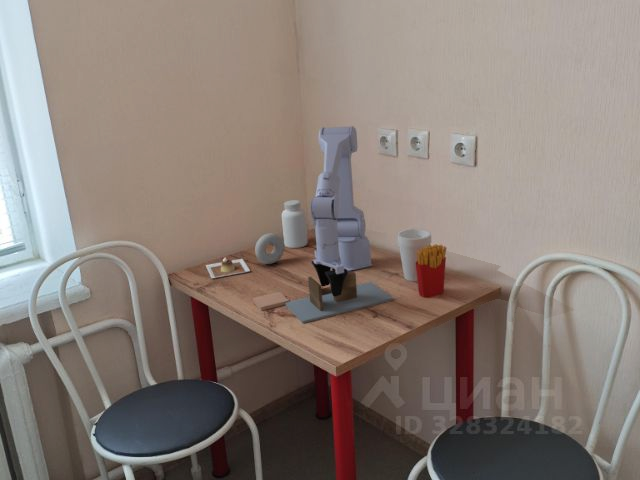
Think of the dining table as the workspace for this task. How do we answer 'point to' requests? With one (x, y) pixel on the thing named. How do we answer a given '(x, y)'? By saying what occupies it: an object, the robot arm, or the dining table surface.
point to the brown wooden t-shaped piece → (316, 292)
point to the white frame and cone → (227, 267)
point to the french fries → (431, 270)
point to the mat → (338, 303)
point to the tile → (270, 301)
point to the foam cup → (412, 249)
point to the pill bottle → (294, 225)
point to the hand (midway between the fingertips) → (330, 290)
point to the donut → (264, 242)
